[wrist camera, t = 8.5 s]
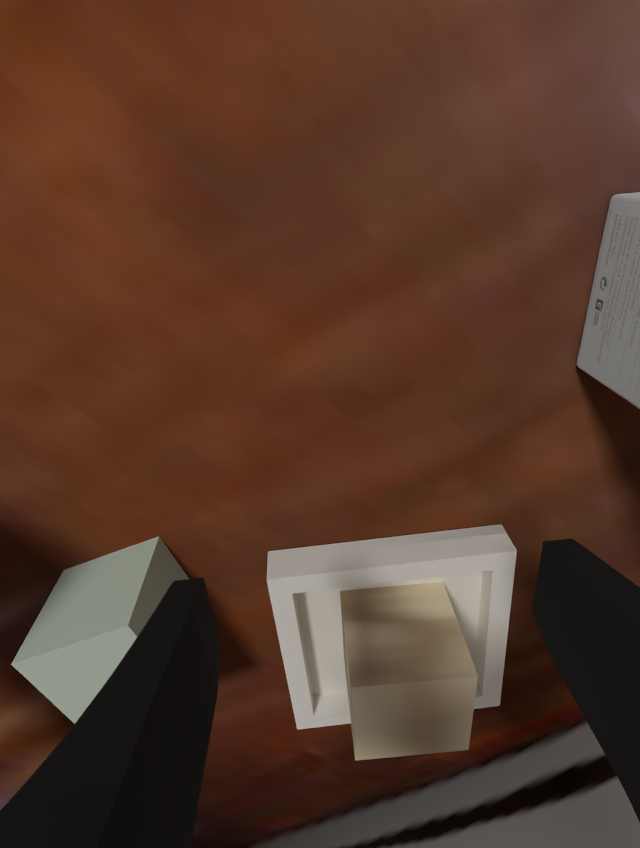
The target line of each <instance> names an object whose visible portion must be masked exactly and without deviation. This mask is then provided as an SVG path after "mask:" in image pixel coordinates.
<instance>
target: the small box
mask: <svg viewBox="0 0 640 848" xmlns="http://www.w3.org/2000/svg"><path fill="white" fill-rule="evenodd" d="M577 366H578V367H579V368H580V369H581V370H583V371H584V372H586V373H587V374H589V375H590V376H592V377H593V378H594V379H596V380H597V381H599V382H600V383H601V384H603V385H605V386H606V387H608V388H609V389H611V390H612V391H613V392H615V393H616V394H618V395H619V396H621V397H622V398H624V399H625V400H627V401H628V402H630V403H631V404H633V405H634V406H636V407H637V408H639V409H640V192H638V193H626V194H617V195H614V196H612V199H611V201H610V204H609V209H608V214H607V218H606V222H605V227H604V232H603V237H602V242H601V246H600V251H599V256H598V261H597V266H596V270H595V275H594V280H593V285H592V290H591V294H590V299H589V304H588V309H587V314H586V319H585V324H584V329H583V334H582V339H581V344H580V349H579V354H578V358H577Z"/></svg>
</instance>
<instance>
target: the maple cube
mask: <svg viewBox="0 0 640 848" xmlns="http://www.w3.org/2000/svg"><path fill="white" fill-rule="evenodd" d="M340 601H341V618H342V634H343V651H344V664H345V673H346V682H347V691H348V700H349V709H350V718H351V727H352V736H353V745H354V754H355V760H366V759H376V758H387V757H397V756H408V755H418V754H429V753H439V752H450V751H460V750H468V749H469V741H470V734H471V726H472V719H473V711H474V703H475V696H476V688H477V681H478V674H477V672H476V669H475V666H474V664H473V661H472V658H471V656H470V653H469V650H468V648H467V645H466V642H465V639H464V637H463V634H462V631H461V629H460V626H459V623H458V621H457V618H456V615H455V612H454V610H453V607H452V604H451V602H450V599H449V596H448V594H447V591H446V588H445V586H444V583H443V582H433V583H422V584H410V585H399V586H388V587H376V588H365V589H353V590H342V591H340Z"/></svg>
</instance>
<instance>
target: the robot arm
mask: <svg viewBox="0 0 640 848" xmlns="http://www.w3.org/2000/svg"><path fill="white" fill-rule="evenodd" d="M532 611H533V613H534V616H535V619H536V621H537V624H538V626H539V629H540V631H541V634H542V636H543V638H544V641H545V643H546V645H547V648H548V650H549V652H550V655H551V657H552V659H553V661H554V663H555V665H556V667H557V668H558V670H559V672H560V674H561V676H562V677H563V679H564V681H565V683H566V685H567V687H568V688H569V690H570V692H571V694H572V696H573V697H574V699H575V701H576V703H577V705H578V706H579V708H580V710H581V712H582V713H583V715H584V717H585V719H586V721H587V722H588V724H589V726H590V728H591V730H592V731H593V733H594V735H595V737H596V738H597V740H598V742H599V744H600V746H601V747H602V749H603V751H604V753H605V754H606V756H607V758H608V760H609V762H610V763H611V765H612V767H613V769H614V771H615V772H616V774H617V776H618V778H619V780H620V782H621V784H622V786H623V788H624V790H625V792H626V794H627V796H628V797H629V800H630V802H631V804H632V806H633V808H634V811H635V813H636V815H637V817H638V820H639V822H640V587H638V586H637V585H635V584H634V583H633V582H631V581H630V580H629V579H627V578H626V577H624V576H623V575H622V574H620V573H619V572H618V571H616V570H615V569H613V568H612V567H611V566H609V565H608V564H607V563H605V562H604V561H603V560H601V559H600V558H598V557H597V556H596V555H594V554H593V553H592V552H590V551H589V550H588V549H586V548H585V547H583V546H582V545H580V544H579V543H578V542H576V541H575V540H573V539H564V540H555V541H545V542H543V547H542V554H541V560H540V566H539V572H538V578H537V585H536V591H535V597H534V603H533V610H532ZM220 649H221V643H220V639H219V635H218V631H217V628H216V624H215V620H214V616H213V613H212V609H211V605H210V601H209V597H208V594H207V590H206V586H205V582H204V578H196V579H186V580H177V581H174V582H173V583H172V584H171V585H170V587H169V588H168V590H167V591H166V593H165V595H164V596H163V598H162V599H161V601H160V603H159V604H158V606H157V607H156V609H155V611H154V612H153V614H152V615H151V617H150V618H149V620H148V621H147V623H146V625H145V626H144V628H143V629H142V631H141V632H140V634H139V635H138V637H137V638H136V640H135V641H134V643H133V644H132V646H131V647H130V649H129V650H128V651H127V653H126V654H125V656H124V657H123V659H122V660H121V662H120V663H119V665H118V666H117V667H116V669H115V670H114V672H113V673H112V675H111V676H110V677H109V679H108V680H107V682H106V683H105V684H104V686H103V687H102V688H101V690H100V691H99V692H98V694H97V695H96V696H95V698H94V699H93V700H92V702H91V703H90V704H89V706H88V707H87V708H86V710H85V711H84V712H83V714H82V715H81V716H80V718H79V719H78V720H77V722H76V723H75V724H74V725H73V727H72V728H71V729H70V730H69V732H68V733H67V734H66V735H65V737H64V738H63V739H62V740H61V742H60V743H59V744H58V745H57V746H56V748H55V749H54V750H53V751H52V753H51V754H50V755H49V756H48V757H47V758H46V760H45V761H44V762H43V763H42V764H41V765H40V767H39V768H38V769H37V770H36V771H35V772H34V774H33V775H32V776H31V777H30V778H29V779H28V781H27V782H26V783H25V784H24V785H23V786H22V787H21V789H20V790H19V791H18V792H17V793H16V794H15V795H14V796H13V797H12V798H11V799H10V801H9V802H8V803H7V804H6V805H5V806H4V807H3V808H2V809H1V810H0V848H191V844H192V837H193V830H194V823H195V816H196V811H197V805H198V800H199V794H200V789H201V783H202V778H203V772H204V767H205V761H206V756H207V750H208V745H209V739H210V734H211V728H212V722H213V716H214V711H215V705H216V699H217V692H218V679H219V665H220Z"/></svg>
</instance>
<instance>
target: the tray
mask: <svg viewBox="0 0 640 848" xmlns="http://www.w3.org/2000/svg"><path fill="white" fill-rule="evenodd" d="M516 554H517V550H516V548H515V547H514V545H513V543H512V542H511V540H510V538H509V537H508V535H507V533H506V532H505V530H504V528H503V526H502V525H501V524H500V525H491V526H482V527H474V528H465V529H456V530H448V531H439V532H431V533H422V534H413V535H405V536H396V537H388V538H379V539H370V540H362V541H353V542H344V543H336V544H327V545H319V546H310V547H301V548H293V549H284V550H276V551H268V563H267V584H268V589H269V594H270V599H271V604H272V609H273V613H274V618H275V623H276V628H277V633H278V638H279V643H280V648H281V652H282V657H283V662H284V667H285V672H286V677H287V682H288V686H289V691H290V696H291V701H292V706H293V711H294V716H295V721H296V725H297V729H306V728H314V727H323V726H332V725H340V724H349V723H351V718H350V709H349V700H348V691H347V682H346V673H345V664H344V651H343V634H342V618H341V601H340V591H342V590H353V589H365V588H376V587H388V586H399V585H410V584H422V583H433V582H443V583H444V586H445V588H446V591H447V594H448V596H449V599H450V602H451V604H452V607H453V610H454V612H455V615H456V618H457V621H458V623H459V626H460V629H461V631H462V634H463V637H464V639H465V642H466V645H467V648H468V650H469V653H470V656H471V658H472V661H473V664H474V666H475V669H476V672H477V674H478V681H477V688H476V696H475V703H474V709H477V708H486V707H494V706H500V699H501V690H502V681H503V672H504V663H505V654H506V645H507V636H508V626H509V617H510V608H511V599H512V590H513V581H514V572H515V563H516Z"/></svg>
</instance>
